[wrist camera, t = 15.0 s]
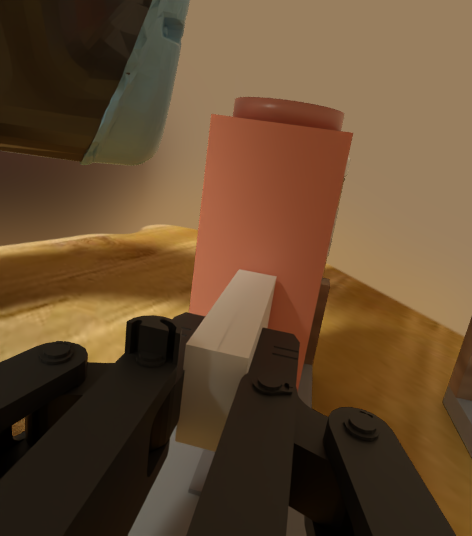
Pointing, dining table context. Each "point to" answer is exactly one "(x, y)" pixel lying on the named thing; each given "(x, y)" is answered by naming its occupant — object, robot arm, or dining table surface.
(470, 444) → the steel rail
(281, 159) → the orange tall prism
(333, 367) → the dining table surface
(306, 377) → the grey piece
